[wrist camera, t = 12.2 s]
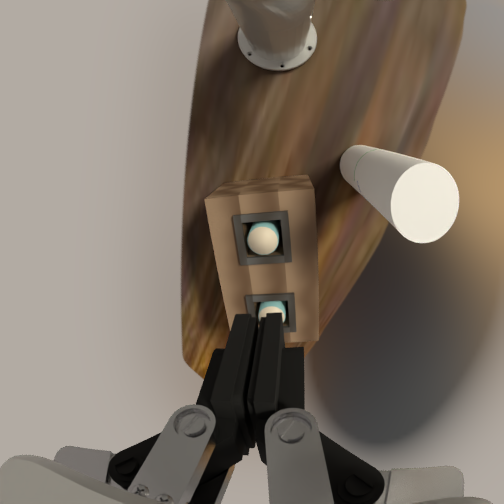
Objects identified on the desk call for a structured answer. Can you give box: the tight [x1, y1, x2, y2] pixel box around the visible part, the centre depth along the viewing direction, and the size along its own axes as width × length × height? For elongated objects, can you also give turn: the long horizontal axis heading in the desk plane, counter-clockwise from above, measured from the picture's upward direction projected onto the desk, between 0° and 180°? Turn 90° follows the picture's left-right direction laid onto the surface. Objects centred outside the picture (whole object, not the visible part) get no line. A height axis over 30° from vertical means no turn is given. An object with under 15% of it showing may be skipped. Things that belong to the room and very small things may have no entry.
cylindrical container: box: [340, 145, 459, 243], centre depth 32 cm, size 7×7×25 cm
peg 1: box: [247, 220, 281, 255], centre depth 42 cm, size 4×4×12 cm
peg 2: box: [258, 301, 286, 322], centre depth 47 cm, size 4×4×12 cm
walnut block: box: [204, 175, 319, 342], centre depth 45 cm, size 14×24×12 cm, turn 7°
